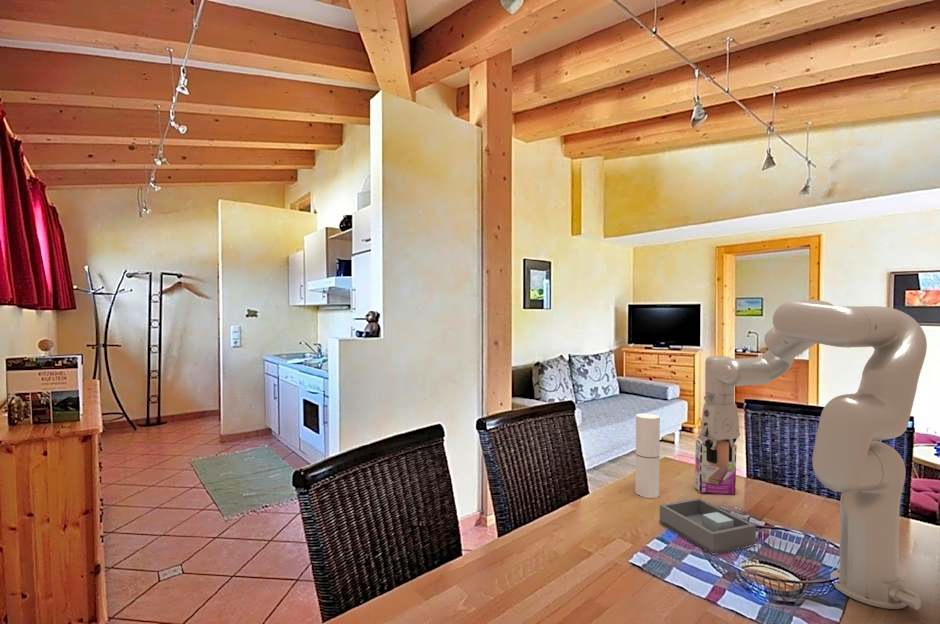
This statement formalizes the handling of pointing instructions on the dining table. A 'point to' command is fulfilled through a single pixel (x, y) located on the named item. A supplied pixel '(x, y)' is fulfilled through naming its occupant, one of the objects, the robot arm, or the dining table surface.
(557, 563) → the dining table surface
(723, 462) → the cylinder
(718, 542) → the tray
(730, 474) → the candy bar box
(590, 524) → the dining table surface
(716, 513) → the cube
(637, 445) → the cylindrical container
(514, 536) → the dining table surface
